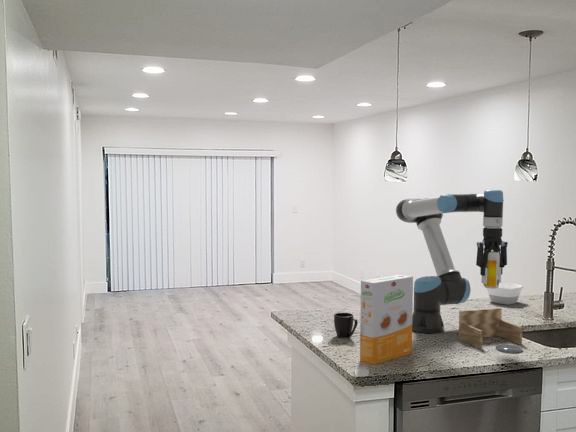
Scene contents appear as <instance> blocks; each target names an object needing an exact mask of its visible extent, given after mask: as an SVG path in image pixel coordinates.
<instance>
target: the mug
mask: <svg viewBox="0 0 576 432" xmlns="http://www.w3.org/2000/svg"><path fill="white" fill-rule="evenodd" d="M358 321H359V320H358V319H356V318H354V314H353V313H350V312H336V313H334V314H333V323H334V329H335V333H336V334H335V335H336V337H337V338H340V339H349V338H351V337H352V336H353V335H354V332H355V331H356V328H357V326H358Z"/></svg>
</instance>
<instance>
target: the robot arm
mask: <svg viewBox="0 0 576 432" xmlns="http://www.w3.org/2000/svg"><path fill="white" fill-rule="evenodd" d="M483 191H484V193H483V194H480V193H466V194H462V193H461V194H457V193H456V194H453V193H451V194H450V193H445V194H440V195H439V196H434V197H429V198H428V197H426V198H404V199H403V200H401V201H399V202H398V204H397V205H396V208H395V213H396V217H397V218H398V219H399V220H400V221H402V222H404V223H409V224H411V223H415V225H416V227H417V228H418V230H420V231H422V234H423V235H422V236H423V237H424V240H425V243H426V245H427V249H428V252H429V255H430V258H431V261H432V264H433V267H434V269H435V273H436V276H435V275H434V276H433V275H430V276H429V275H428V276H420V277H419V278H416V279H415V281H414V282H413V311H412V332H417V333H420V334H421V333H423V334H438V333H439V334H440V333H442V332H444V331H445V325H444V321H443V319H442V314H441V306H447V305H459V304H464V303H465V302H467V301H468V299H469V298H470V295H471V292H472V290H471V289H472V288H471V284H470V281H469V280H468V279H467V278H466V277H464V276H463V277H462V275H461V272H460V270H457V269H456V268H455V264H454V262H453V259H452V257H451V254H450V251H449V248H448V246H447V243H446V239H445V237H444V234H443V231H442V229H441V225H440V224H441V223H442V218H443V216H444V215H443V214H449V213H475V212H476V213H478V212H479V213H483V218H482V222H483V223H482V226H483V228H482V236H483V239H482V241H477V242H476V247H477V250H476V251H477V253H476V261H475V262H476V263H475V265H476V266H477V267H479V268H480V269H479V270H480V272H479V273H480V276H481V284H483V283H484V284H487V270H488V268H486V265H487V261H488V254H489V252H491V251H494V252H499V254H500V266H499V283H501V282H502V275H503V269H504V268H505V266H507V265H508V252H507V250H508V249H507V247H508V243H509V242H508V241H504V240H502V237H503V228H502V227H503V221H504V220H503V216H504V215H503V214H504V192H503V191H502V190H499V189H486V190H483Z"/></svg>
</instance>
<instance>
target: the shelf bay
mask: <svg viewBox="0 0 576 432" xmlns="http://www.w3.org/2000/svg"><path fill="white" fill-rule="evenodd" d="M502 310H503V309H502V307H495V308H494V307H492V308H491V307H490V308H482V309H480V308H478V309H467V310H459V313H458V339H459V340H461V341H463V342H465V343H468V344H470V345H472V346H474V347H476V348H477V349H482V348H483V338H490V337H491V338H492V337H501V338H503V339H505V340H508V341H510V342H512V343H515V344H518V345H522V344H523V327H522V326H520V325H517V324H515V323H512V322H509V321H506V320H503V319H502V315H503V313H502V312H503V311H502Z"/></svg>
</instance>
